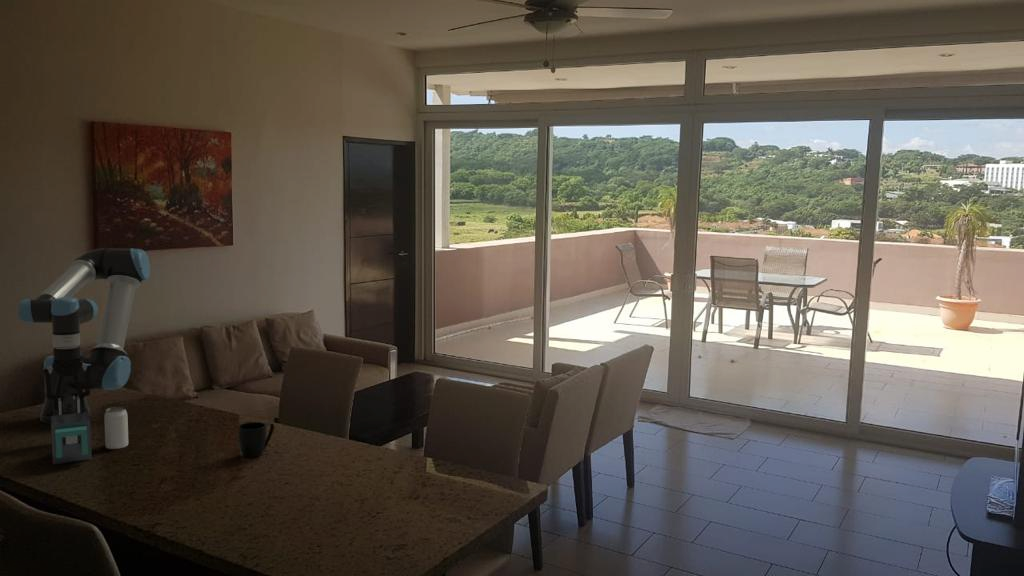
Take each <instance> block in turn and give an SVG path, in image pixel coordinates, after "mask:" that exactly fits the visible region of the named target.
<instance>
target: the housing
mask: <svg viewBox="0 0 1024 576" xmlns="http://www.w3.org/2000/svg"><path fill="white" fill-rule="evenodd" d="M90 417H91V415H90V416H89V412H84V413H74V414H65V415H55V416H51V424H50V428H51V431H50V432H51V433H50V434H51V448H52V449H51V451H52V454H51V455H52V465H59V464H67V463H73V462H74V463H75V462H82V461H84V462H85V461H90V460H93V459H92V434H91V433H92V430H91V418H90ZM79 426H87V443H88V454H85V455H82V446H81V435H77V438H78V443H75V444H66V437H62V458H56V438H55V429H61V428H70V427H79Z"/></svg>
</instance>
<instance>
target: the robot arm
mask: <svg viewBox="0 0 1024 576" xmlns="http://www.w3.org/2000/svg"><path fill="white" fill-rule="evenodd" d="M150 274H151V265H150V260H149V257H148V254H147V253H146V252H145V250H143V249H140V248H133V247H130V248H109V247H101V248H96V249H92V250H90V251H87V252H85V253H83V254H81V255H79V256H78V257H76V258H75V259H74V260H73V261H72V262H71V263H70V264H69V265H68V267H67V270H66V271H65V272H64V273H62V274H61V275H60V276H59V277H58V278H57V279H56V280H55V281H53V282H52V283H51V284H50V285H49V286H48V287H47V288H46V289H45V290H43V292H41V293H40V294H39V295H37V297H35V299H32V298H29V299H22V300H21V301H20V302H19V304H18V306H17V315H18V318H19V320H20V321H22V322H23V323H33V324H35V323H36V324H37V323H38V324H42V323H43V324H44V323H45V324H49V323H50V324H51V325H52V327H51V328H52V333H51V334H52V347H54V348H53V349H52V352H53V353H52V354H51V355H48V356H46V357H45V358H44V361H43V369H42V371H43V378H44V394H45V395H44V396H45V399H44V401H43V405H42V407H41V408H42V409H41V412H40V414H39V418H40V422H41V423H42V424H46V425H51V416H55V415H62V409H61V395H63V394H68V393H75V394H77V413H84V412H89V416H90V417H91V410H90V407H89V405H88V403H87V401H86V400H87V399H86V397H87V396H90V395H91V390H92V391H93V390H98V391H99V390H100V391H102V390H103V391H110V390H111V391H112V390H119V389H121V388H123V387H125V385H126V384H127V382H128V380H129V378H130V376H131V375H130V374H131V371H132V367H131V365H132V363H131V359H130V358H129V357H128V356H127V355H128V353H127V352H126V351H125V349H124V347H125V343H126V337H127V332H128V327H129V323H130V318H131V313H132V308H133V303H134V297H135V293H136V290H138V289H140V288H141V287H142V286H141V285H142V282H143V281H144V282H145V281H147V280H148V279H149V278H150V276H151V275H150ZM95 280H96V281H97V280H106V283H108V285H109V288H108V293H107V296H106V300H105V301H106V303H105V304H104V305H105V306H104V311H103V316H102V320H101V324H100V329H99V334H98V336H97V337H98V338H97V342H96V345H95V346H93V347H92V348H91V349H90V351H89V355H84V354H83V352H82V351H81V347H80V345H81V335H80V333H81V332H80V330H81V329H80V325H81V324H85V323H88V322H90V321H92V320H93V319H95V318H96V317H97V315H98V313H99V307H98V305H97V303H96V302H95V301H94V300H92V299H89V298H80V299H77V297H74V296H75V295H76V294H77V293H79V291H80V290H81V289H82V288H83V287H84V286H86V285H88V284H91V283H93V282H94V281H95Z"/></svg>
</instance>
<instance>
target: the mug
mask: <svg viewBox="0 0 1024 576" xmlns="http://www.w3.org/2000/svg"><path fill="white" fill-rule="evenodd" d="M269 425H270V427H269V431H268V434H267V427H268V426H269ZM274 428H275V425H274V423H273V422H272V421H271V422H266V423H265V422H261V421H252V422H251V421H250V422H245V423H240V424H239V425H237V437H238V439H237V440H238V445H239V448H240V451H241V453H242V454H241V455H242V458H243V459H249V460H250V459H251V460H254V459H258V458H260V456H261V457H262V456H263V452H264V450H265V449H266V448H267V447H268V444H269V442H270V440H271V438H272V435H273V434H274V433H273V432H274V430H275V429H274Z"/></svg>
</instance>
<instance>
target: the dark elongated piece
mask: <svg viewBox="0 0 1024 576" xmlns="http://www.w3.org/2000/svg"><path fill="white" fill-rule="evenodd" d="M61 409H62V415H65V414H74V413H77V394H75V393H68V394H63V395H61ZM75 443H78V438H77V436H68V437H66V444H75Z"/></svg>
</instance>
